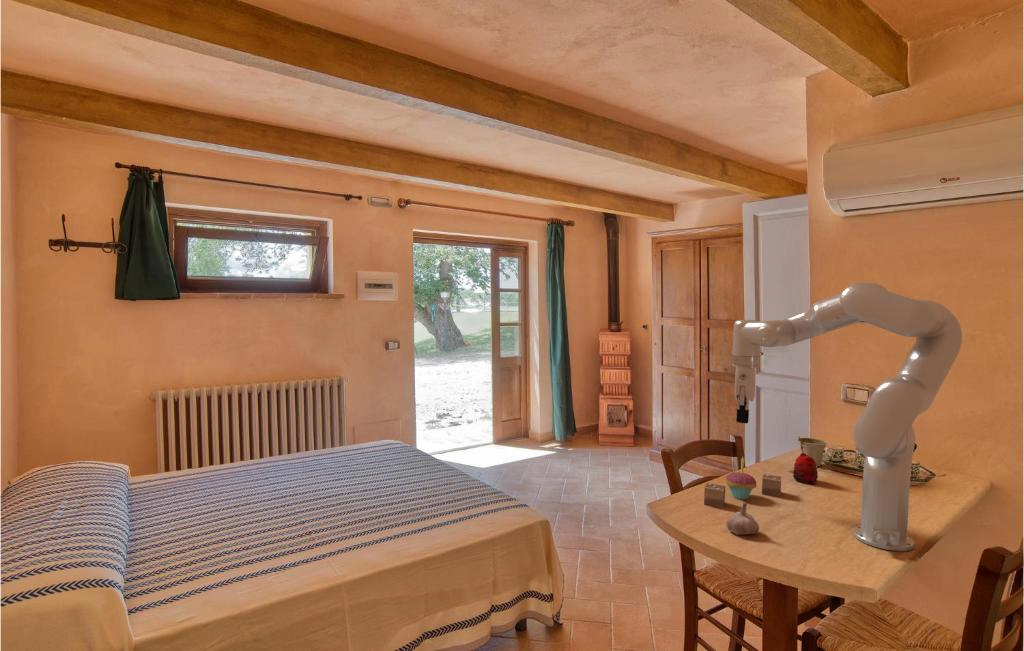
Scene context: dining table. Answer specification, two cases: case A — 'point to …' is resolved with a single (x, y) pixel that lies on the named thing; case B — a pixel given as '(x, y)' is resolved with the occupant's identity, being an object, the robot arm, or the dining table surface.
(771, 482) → the two dot block
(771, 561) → the dining table surface
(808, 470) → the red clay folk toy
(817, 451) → the flower pot
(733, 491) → the cupcake
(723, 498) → the three dot block
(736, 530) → the garlic bulb
